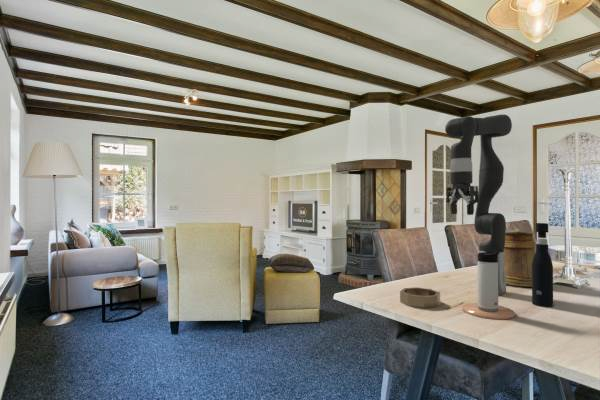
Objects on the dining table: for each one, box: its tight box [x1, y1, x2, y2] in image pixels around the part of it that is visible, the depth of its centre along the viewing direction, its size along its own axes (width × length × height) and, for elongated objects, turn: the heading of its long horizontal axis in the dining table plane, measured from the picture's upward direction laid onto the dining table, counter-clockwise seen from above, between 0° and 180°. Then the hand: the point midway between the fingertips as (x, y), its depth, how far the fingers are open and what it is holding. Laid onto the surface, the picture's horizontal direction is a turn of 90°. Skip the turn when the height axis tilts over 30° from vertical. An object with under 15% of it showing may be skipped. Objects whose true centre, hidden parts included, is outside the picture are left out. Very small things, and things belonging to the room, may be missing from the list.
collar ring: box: [399, 287, 441, 309], centre depth 134 cm, size 13×13×4 cm
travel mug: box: [477, 251, 499, 312], centre depth 122 cm, size 6×7×20 cm
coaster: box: [461, 302, 516, 321], centre depth 122 cm, size 16×16×1 cm
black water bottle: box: [531, 222, 554, 308], centre depth 131 cm, size 6×6×30 cm
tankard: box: [504, 227, 536, 288], centre depth 167 cm, size 18×24×25 cm
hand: (461, 214), depth 133 cm, fingers open, 8 cm apart
